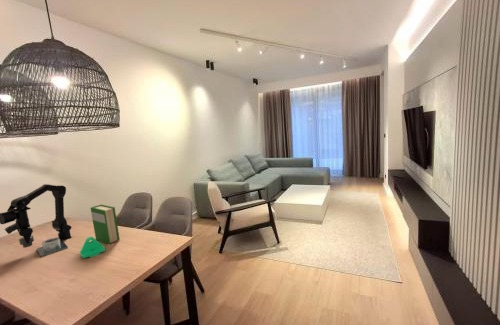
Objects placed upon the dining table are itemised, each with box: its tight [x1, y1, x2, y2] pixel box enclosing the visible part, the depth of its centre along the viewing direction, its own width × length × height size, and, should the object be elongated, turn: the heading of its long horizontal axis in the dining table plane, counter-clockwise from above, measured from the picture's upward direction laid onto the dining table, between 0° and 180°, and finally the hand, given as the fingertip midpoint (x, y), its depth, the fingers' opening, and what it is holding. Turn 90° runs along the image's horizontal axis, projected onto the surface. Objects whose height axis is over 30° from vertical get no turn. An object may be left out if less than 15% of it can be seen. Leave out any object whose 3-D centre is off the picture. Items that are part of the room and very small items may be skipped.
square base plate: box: [36, 237, 69, 258], centre depth 164 cm, size 14×16×6 cm
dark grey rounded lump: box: [18, 235, 35, 248], centre depth 158 cm, size 7×7×6 cm
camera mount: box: [79, 236, 106, 259], centre depth 152 cm, size 12×8×10 cm, turn 134°
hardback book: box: [90, 204, 120, 245], centre depth 171 cm, size 18×7×24 cm, turn 57°
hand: (26, 241), depth 158 cm, fingers closed on dark grey rounded lump, 7 cm apart
